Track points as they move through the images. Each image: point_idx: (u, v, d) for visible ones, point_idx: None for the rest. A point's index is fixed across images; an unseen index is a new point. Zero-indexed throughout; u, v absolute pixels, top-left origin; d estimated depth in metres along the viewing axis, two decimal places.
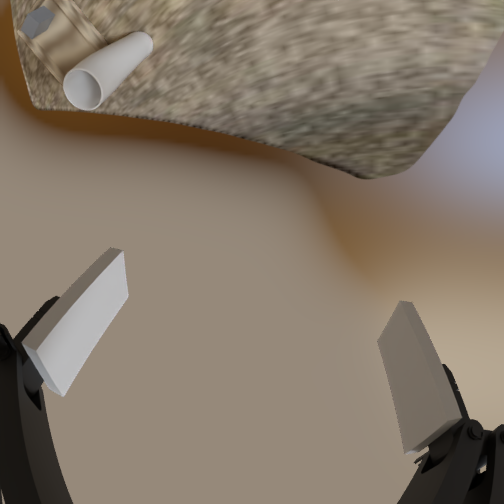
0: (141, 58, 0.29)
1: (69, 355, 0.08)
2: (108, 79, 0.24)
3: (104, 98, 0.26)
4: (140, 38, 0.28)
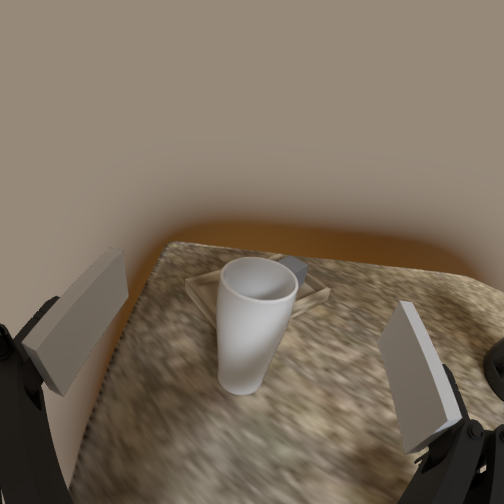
0: (237, 376, 0.26)
1: (69, 355, 0.08)
2: (268, 317, 0.21)
3: (239, 303, 0.21)
4: (261, 379, 0.28)
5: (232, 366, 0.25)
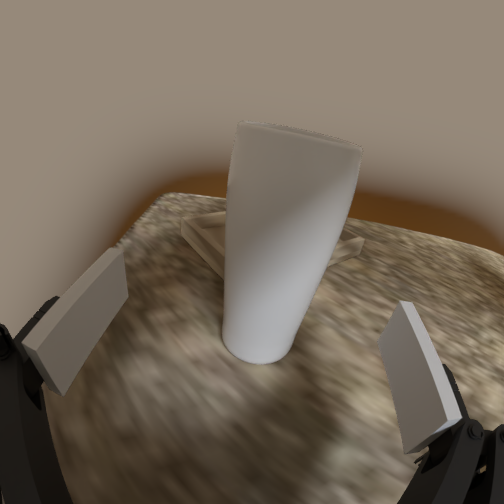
0: (258, 324, 0.16)
1: (69, 355, 0.08)
2: (325, 176, 0.11)
3: (273, 144, 0.11)
4: (294, 334, 0.18)
5: (250, 301, 0.15)
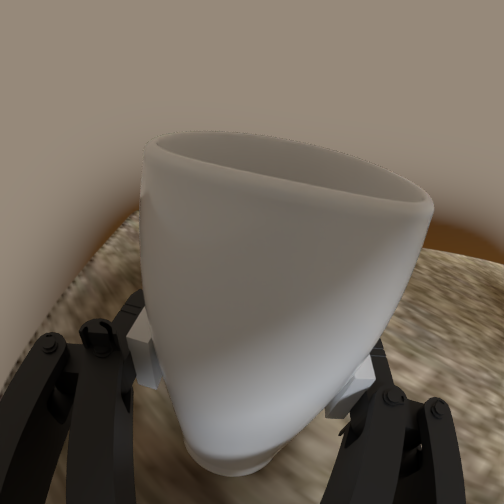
0: (222, 458, 0.09)
1: None
2: (353, 300, 0.04)
3: (202, 215, 0.04)
4: None
5: (205, 442, 0.08)
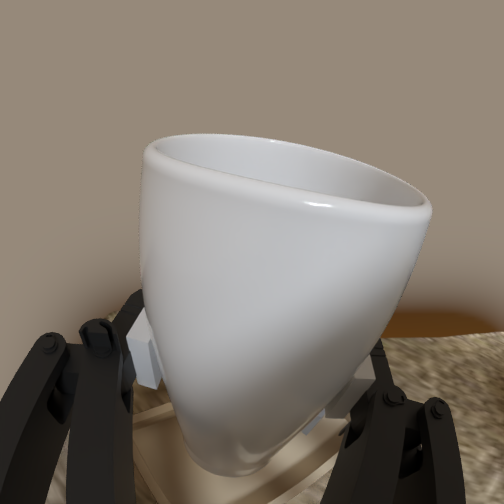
0: (222, 459, 0.09)
1: None
2: (351, 305, 0.04)
3: (201, 221, 0.04)
4: None
5: (205, 444, 0.08)
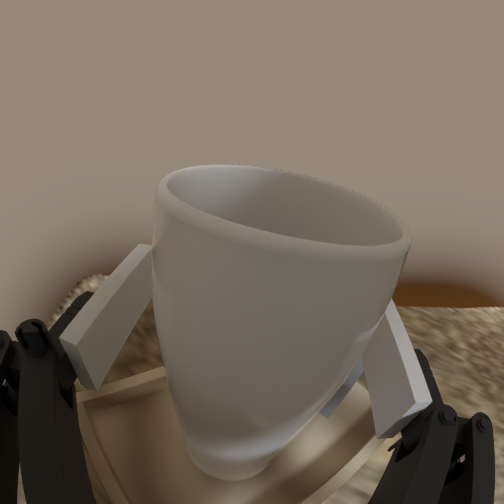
0: (222, 462, 0.09)
1: (104, 349, 0.09)
2: (334, 326, 0.05)
3: (210, 260, 0.05)
4: None
5: (207, 447, 0.08)
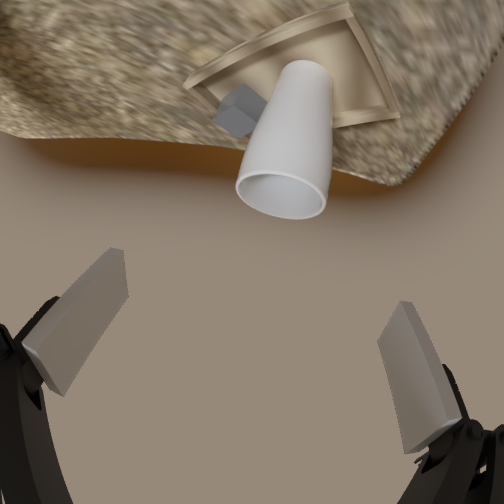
0: (311, 82, 0.20)
1: (69, 355, 0.08)
2: (275, 152, 0.17)
3: (309, 174, 0.17)
4: (282, 75, 0.22)
5: (317, 95, 0.19)
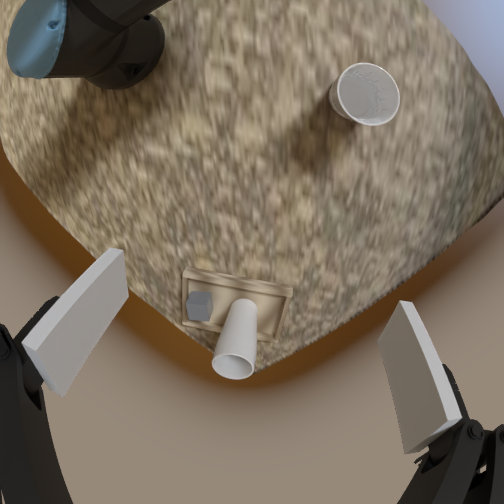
0: (254, 317, 0.49)
1: (69, 355, 0.08)
2: (244, 349, 0.40)
3: (253, 362, 0.40)
4: (240, 305, 0.50)
5: (256, 325, 0.47)
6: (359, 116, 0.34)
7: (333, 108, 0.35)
